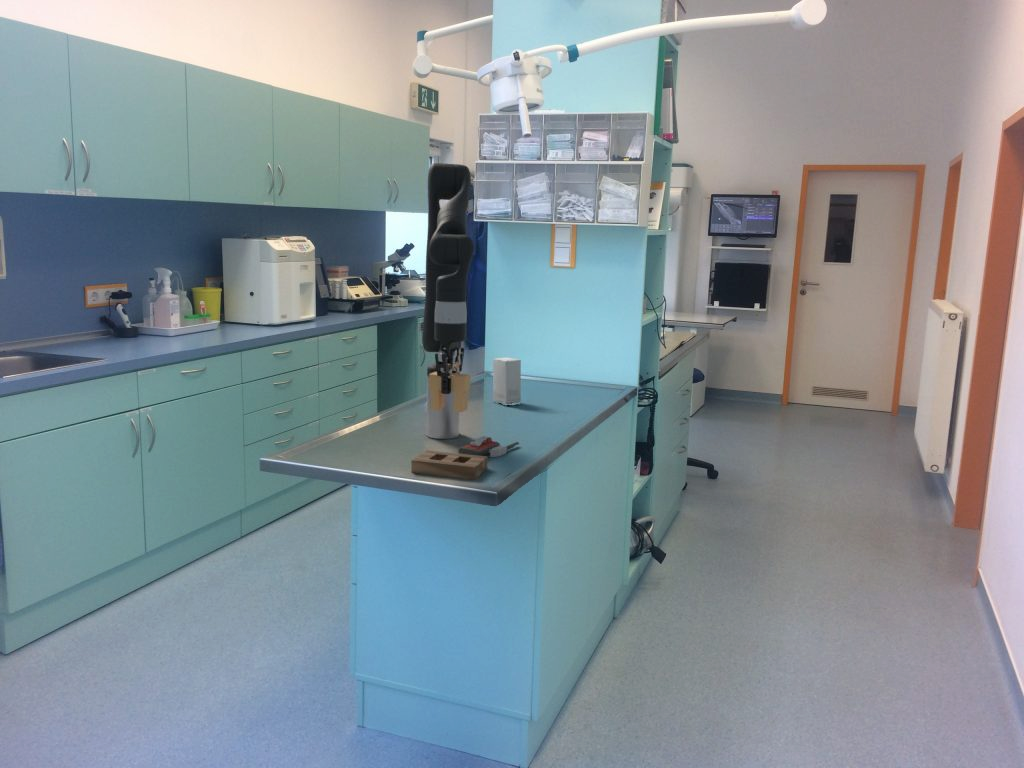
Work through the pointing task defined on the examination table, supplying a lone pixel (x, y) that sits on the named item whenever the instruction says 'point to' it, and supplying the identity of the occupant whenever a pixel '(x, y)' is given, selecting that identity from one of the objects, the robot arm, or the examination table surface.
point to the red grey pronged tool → (485, 448)
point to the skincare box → (507, 380)
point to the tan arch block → (458, 385)
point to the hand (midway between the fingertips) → (449, 391)
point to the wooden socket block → (450, 464)
